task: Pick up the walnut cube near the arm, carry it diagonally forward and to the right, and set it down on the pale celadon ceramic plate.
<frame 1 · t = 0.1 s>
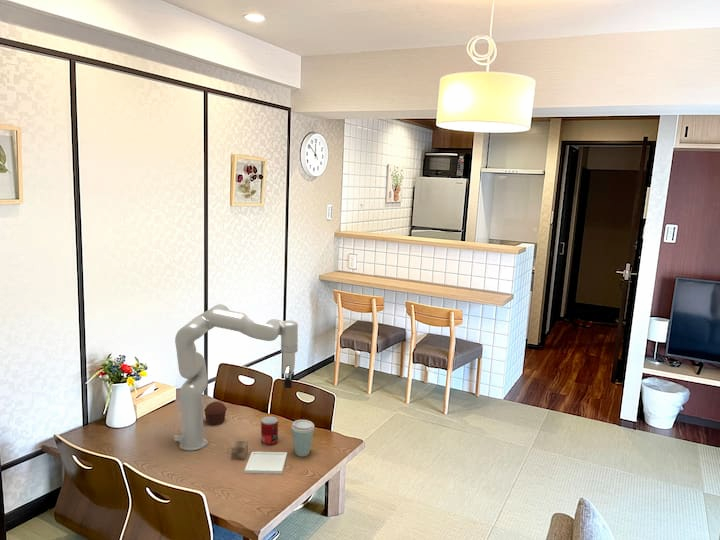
hand: (289, 383, 250), 31 cm above the table, fingers open, 9 cm apart
disposable coffee cup: (302, 453, 249), on the table
cube: (239, 456, 245), on the table
plate: (266, 463, 239), on the table
canned food: (269, 441, 260), on the table
muffin: (215, 421, 279), on the table
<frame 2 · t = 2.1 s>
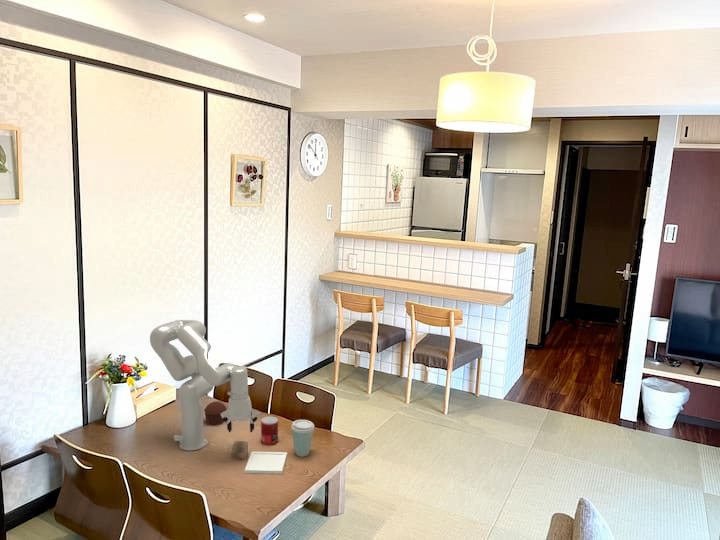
hand: (240, 431, 243), 12 cm above the table, fingers open, 9 cm apart
nothing on the table moved.
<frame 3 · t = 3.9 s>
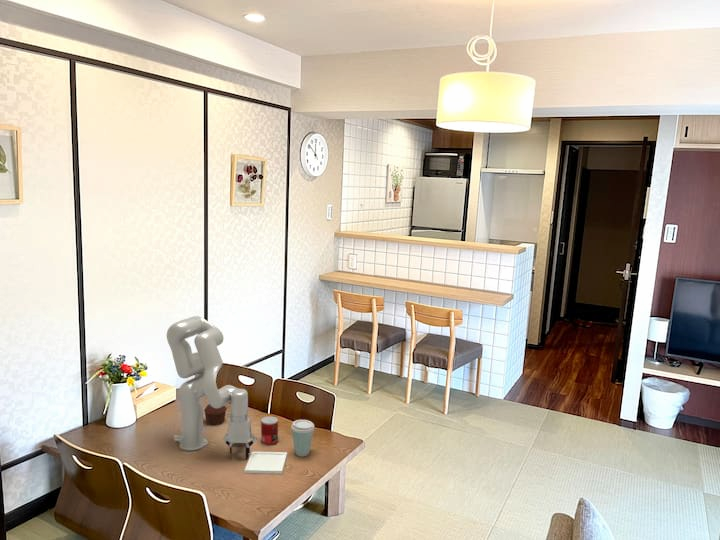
hand: (239, 454, 245), 1 cm above the table, fingers closed on cube, 6 cm apart
cube: (239, 456, 245), on the table, touching gripper
everything else where it was.
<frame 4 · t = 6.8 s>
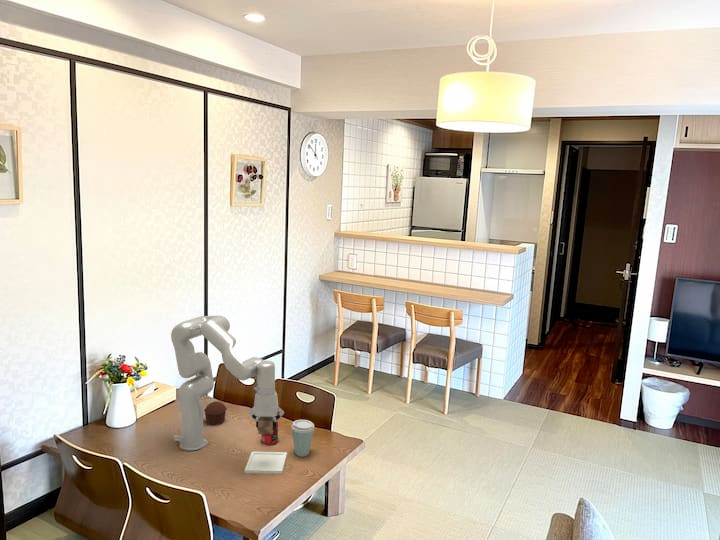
hand: (266, 428, 236), 17 cm above the table, fingers closed on cube, 6 cm apart
cube: (266, 431, 237), point 15 cm above the table, touching gripper
everything else where it was.
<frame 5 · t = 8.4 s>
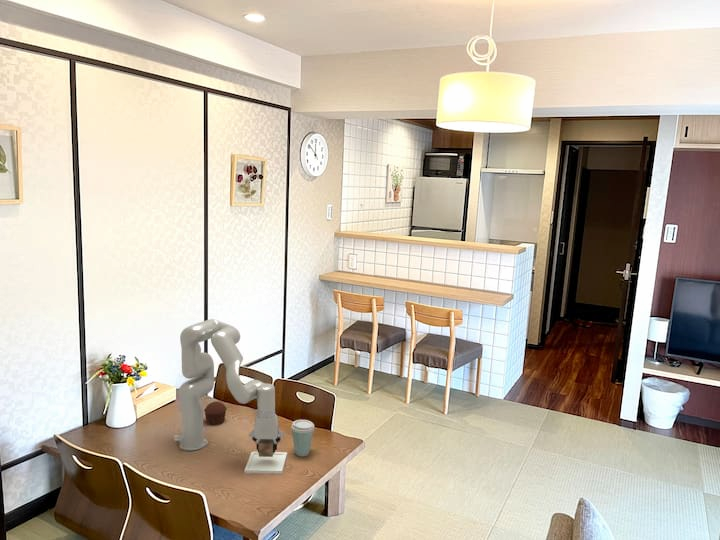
hand: (266, 450, 238), 6 cm above the table, fingers closed on cube, 6 cm apart
cube: (266, 453, 238), point 5 cm above the table, touching gripper
everything else where it was.
when the fingers open (4 cm above the table, at t = 9.9 s): cube drops 2 cm, resting on plate.
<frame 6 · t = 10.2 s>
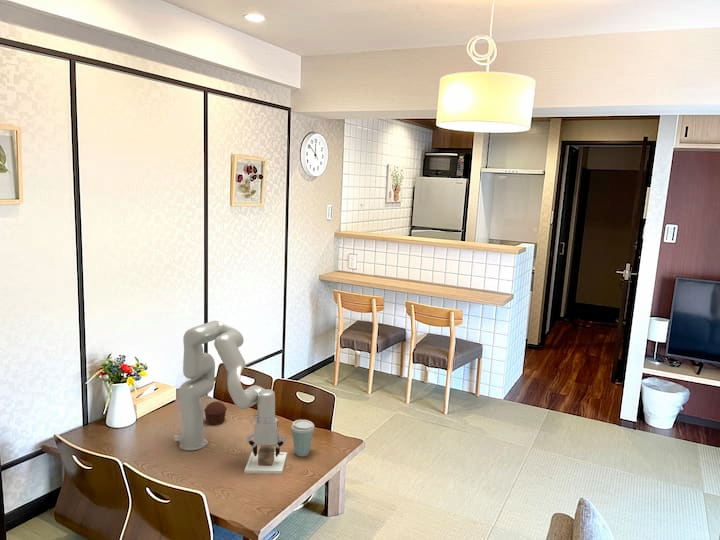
hand: (266, 455, 239), 4 cm above the table, fingers open, 9 cm apart
cube: (266, 462, 239), point 1 cm above the table, touching plate
everything else where it was.
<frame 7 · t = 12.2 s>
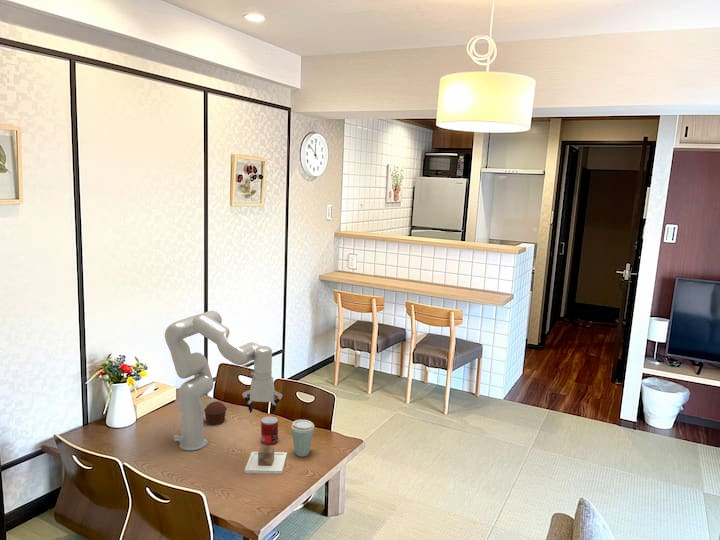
hand: (262, 412, 237), 23 cm above the table, fingers open, 9 cm apart
nothing on the table moved.
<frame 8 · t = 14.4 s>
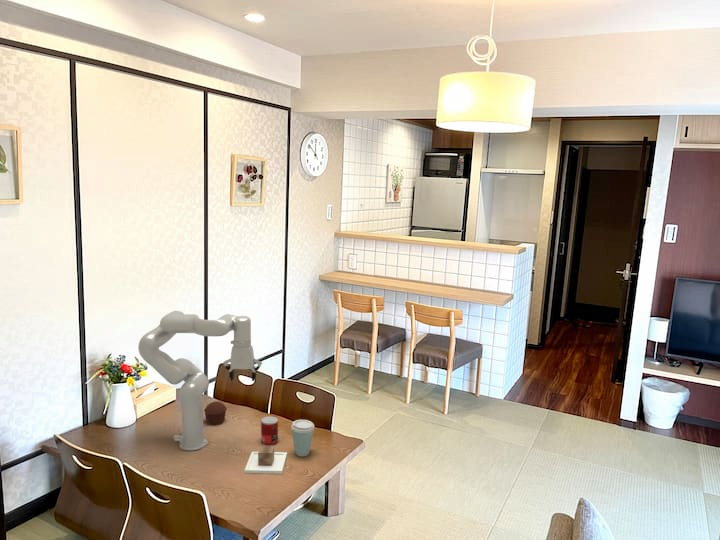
hand: (242, 379, 248), 33 cm above the table, fingers open, 9 cm apart
nothing on the table moved.
at the end: cube inside the target area on the plate (0.1 cm from its centre), point 0.8 cm above the plate's base; the gripper is holding nothing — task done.
